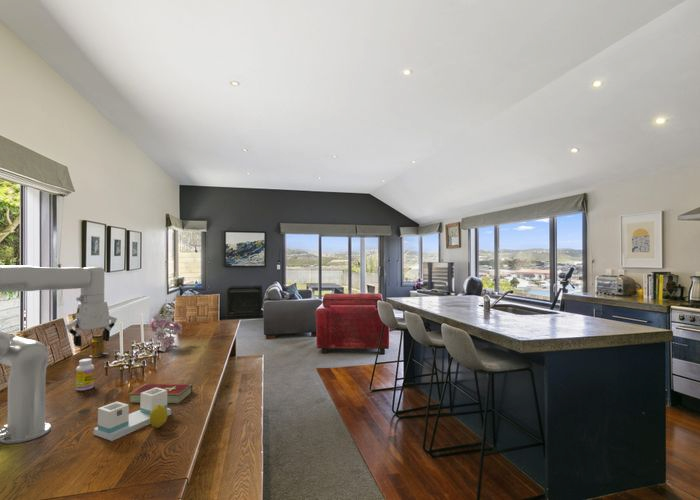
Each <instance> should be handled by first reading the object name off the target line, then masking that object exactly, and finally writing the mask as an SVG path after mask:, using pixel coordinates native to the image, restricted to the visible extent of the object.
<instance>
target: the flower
mask: <svg viewBox="0 0 700 500" xmlns="http://www.w3.org/2000/svg"><path fill="white" fill-rule="evenodd" d="M162 315H163V314H162V313H160V314H158V312H157V313H155V314H154V315H153V316H152V317H151V318H150V320H151V321H147V324H148V328H149V329H151V332H152V333H154V335H155V336H156V337H155V340H156V341H158V342H159V341H160V342H161V343H162V347H160V348H159V350H158V351H161V352H163V353H166V351H167V347H173V346H174V345H173V344H175V343H176V342H175V338H176V337H175V336H176V335H177V334H178V335H179V334H181V335H182V334H183V332H182V330H183V325H182V324H181V323H179V322H176V321H172V320H173V319H172V317H167V315H166V316H165V318H164V316H162ZM167 334H168V336H167ZM173 335H175V336H173Z"/></svg>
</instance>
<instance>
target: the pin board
mask: <svg viewBox="0 0 700 500" xmlns="http://www.w3.org/2000/svg"><path fill="white" fill-rule="evenodd" d="M166 410H167V417H168V416H171V415H172V409H171V408H169V407H167V409H166ZM148 425H152V424H151V423H150V415H149V414H146V413H143V412H140V409H139V410H136V411H133V412H131V413H129V425H128V426H125V427H123V428H121V429H118V430H116V431H114V432H111V433H107V432H104V431H101V430H98V426H96V427H94V428H93V435H94V436H97V437H100V438H101V439H105V440H107V441H111V442H113V441H115V440H117V439H120V438H122V437H124V436H126V435H129V434H131V433H133V432H135V431H137V430H140V429H142V428H144V427H146V426H148Z"/></svg>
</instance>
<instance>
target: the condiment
mask: <svg viewBox="0 0 700 500" xmlns="http://www.w3.org/2000/svg"><path fill="white" fill-rule="evenodd" d="M104 342H105V341H104V340H103V334H94V335H92V338H91V342H90V343H91V347H90V349H91V350H90V352H91V353H90V354H91V355H89V357H91V358H99V357H102V356H105V355H109V354H110V353H109V352H108V353H107V352H104V345H105V344H104Z"/></svg>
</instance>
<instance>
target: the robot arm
mask: <svg viewBox="0 0 700 500" xmlns="http://www.w3.org/2000/svg"><path fill="white" fill-rule="evenodd" d="M76 289H80V295H79V296H77V297H76V301H77V302H79V303H78V306H77V308H76V314H75V319H74V320H72V321H70V322H69V323H67V324H65V329H66V330H67V332H68V333H69V334H71V335H72V336H73V344H74V346H75V347H78V348H79V347H81V346H82V335H81V333H83V331H88V330H91V331H92V330H97V329H103V331H102V335H103V340H104V342H109V340H110V335H111V333H110V332H111V330H112V328H114V326H115V324H116V322H117V321H118V318H116V317H114V316H111V315H110V312H109V305H108V301H105V268H103V267H100V266H86V267H79V266H77V267H75V266H67V267H42V266H41V267H40V266H32V265H0V293H4V292H5V293H7V292H8V293H9V292H10V293H11V292H35V291H36V292H37V291H49V290H50V291H51V290H52V291H53V290H55V291H57V290H76ZM73 326H74V327H75V330H74V328H73ZM47 347H48V346H46V345H45V344H44V343H43V342H41V341H38V340H35V339H31V338H26V337H21V336H18V335H15V334H11V333H8V332H5V331H1V330H0V364H2V365H6V366H8V367H10V372H9V376H8V380H7V421H6V422H7V423H6V424H3V428H1V429H0V442H1V443H3V444H19V443H20V444H21V443H25V442H28V441H32V440H35V439H37V438H40V437H43V436H44V435H46V434H47V433H49V432H50V430H51V428H52V427H51V426H52V425H51V424H50V423H48V422H46V377H47V367H48V361H49V356H50V354H49V349H48V348H47Z"/></svg>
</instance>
